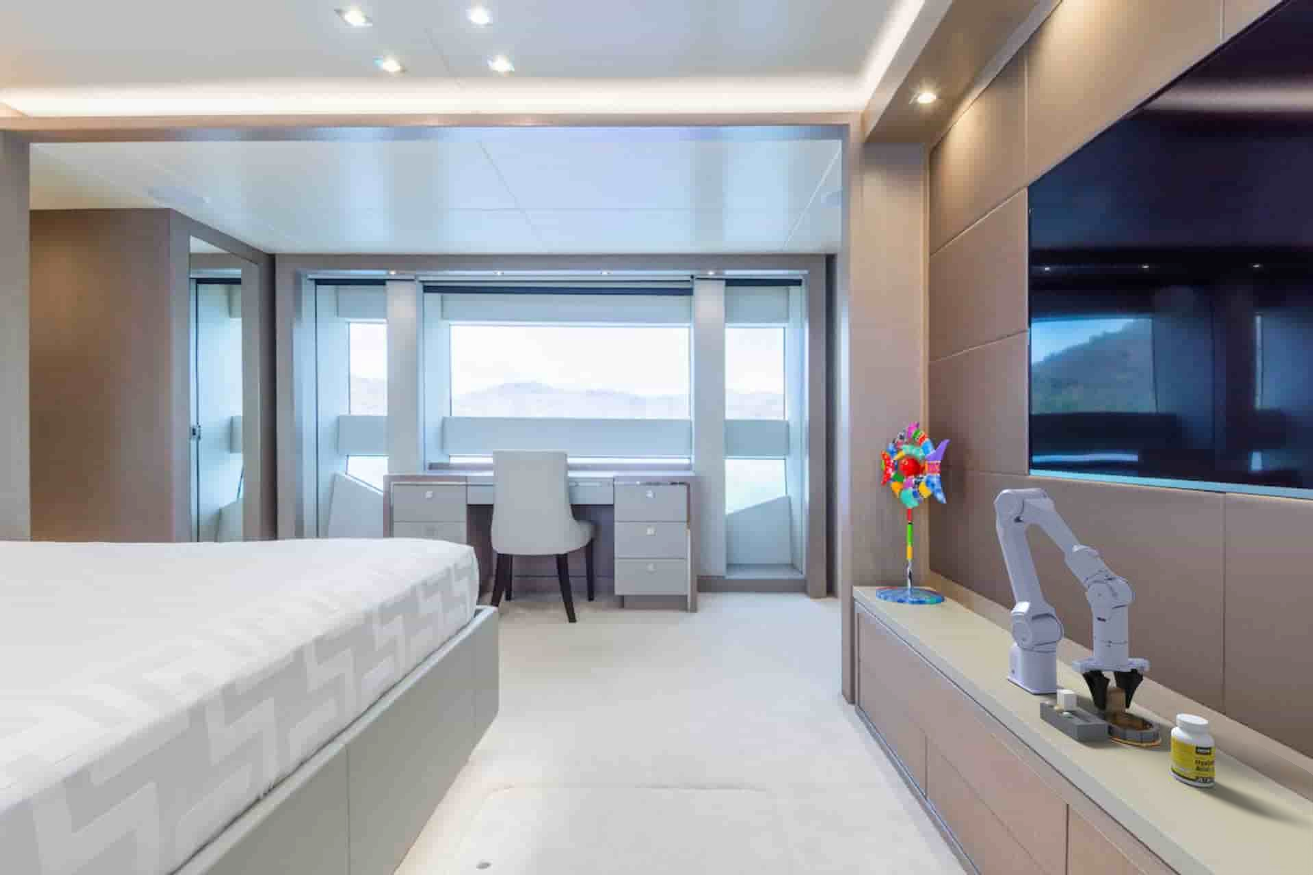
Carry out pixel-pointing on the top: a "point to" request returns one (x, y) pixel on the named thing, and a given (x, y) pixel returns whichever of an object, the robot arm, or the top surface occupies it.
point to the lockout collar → (1131, 728)
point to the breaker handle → (1066, 699)
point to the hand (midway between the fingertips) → (1111, 707)
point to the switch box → (1074, 722)
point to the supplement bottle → (1192, 751)
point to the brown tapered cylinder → (1115, 700)
